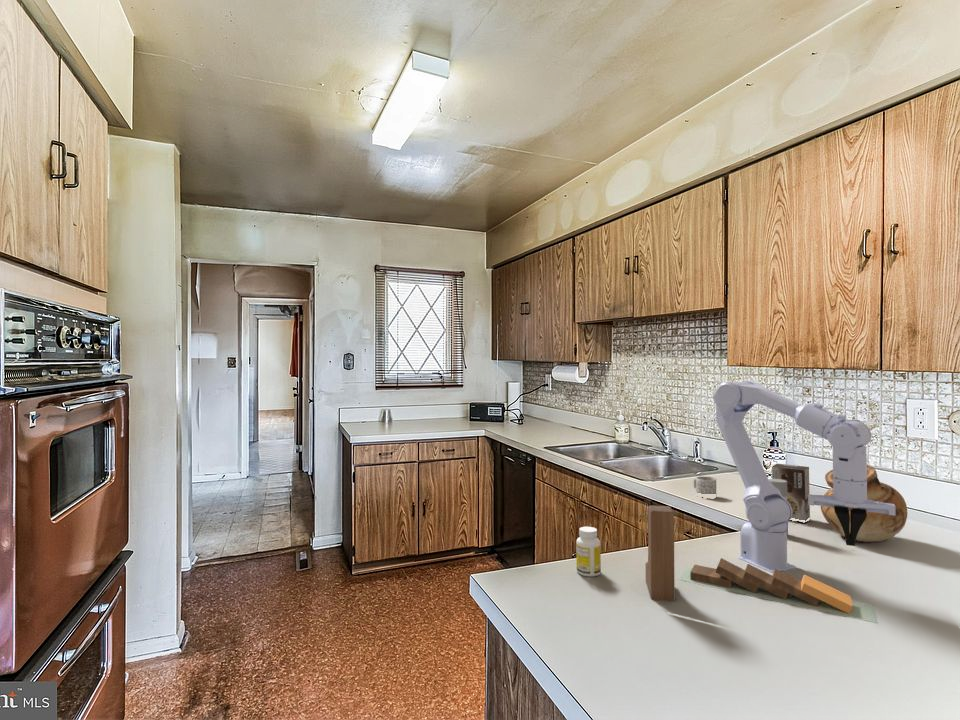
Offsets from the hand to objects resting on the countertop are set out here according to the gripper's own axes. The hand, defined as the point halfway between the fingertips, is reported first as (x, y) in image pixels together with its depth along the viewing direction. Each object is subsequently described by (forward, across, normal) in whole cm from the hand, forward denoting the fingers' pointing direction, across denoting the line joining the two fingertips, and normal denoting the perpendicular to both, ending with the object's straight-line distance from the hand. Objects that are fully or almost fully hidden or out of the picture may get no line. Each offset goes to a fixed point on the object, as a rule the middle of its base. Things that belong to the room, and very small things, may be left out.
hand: (850, 544), depth 104 cm
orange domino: (+9, -1, -10) cm, 13 cm away
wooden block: (+10, -33, -22) cm, 41 cm away
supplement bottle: (+10, -49, -20) cm, 54 cm away
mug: (+10, -39, +68) cm, 79 cm away
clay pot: (+10, +5, +42) cm, 43 cm away
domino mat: (+10, -14, -10) cm, 20 cm away
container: (+10, -14, +34) cm, 38 cm away
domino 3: (+9, -11, -10) cm, 17 cm away
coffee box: (+10, -12, +53) cm, 55 cm away
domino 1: (+9, -21, -10) cm, 25 cm away
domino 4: (+9, -6, -10) cm, 14 cm away
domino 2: (+9, -16, -10) cm, 21 cm away
